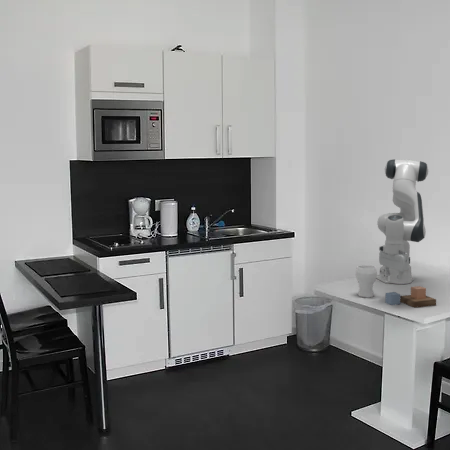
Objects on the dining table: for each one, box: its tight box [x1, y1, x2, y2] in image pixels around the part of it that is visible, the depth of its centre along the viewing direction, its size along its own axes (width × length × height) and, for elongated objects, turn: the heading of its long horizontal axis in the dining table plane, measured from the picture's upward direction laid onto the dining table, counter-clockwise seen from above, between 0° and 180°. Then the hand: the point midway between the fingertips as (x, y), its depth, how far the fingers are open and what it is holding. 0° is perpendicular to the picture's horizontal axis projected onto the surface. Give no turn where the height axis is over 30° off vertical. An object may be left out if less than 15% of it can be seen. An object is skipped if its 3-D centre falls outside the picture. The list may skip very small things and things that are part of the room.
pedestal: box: [400, 294, 437, 309], centre depth 302 cm, size 12×12×3 cm
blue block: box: [385, 291, 401, 306], centre depth 303 cm, size 5×5×5 cm
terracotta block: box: [410, 285, 427, 299], centre depth 301 cm, size 5×5×5 cm
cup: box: [355, 264, 378, 298], centre depth 318 cm, size 11×11×15 cm
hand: (393, 277), depth 301 cm, fingers open, 8 cm apart
